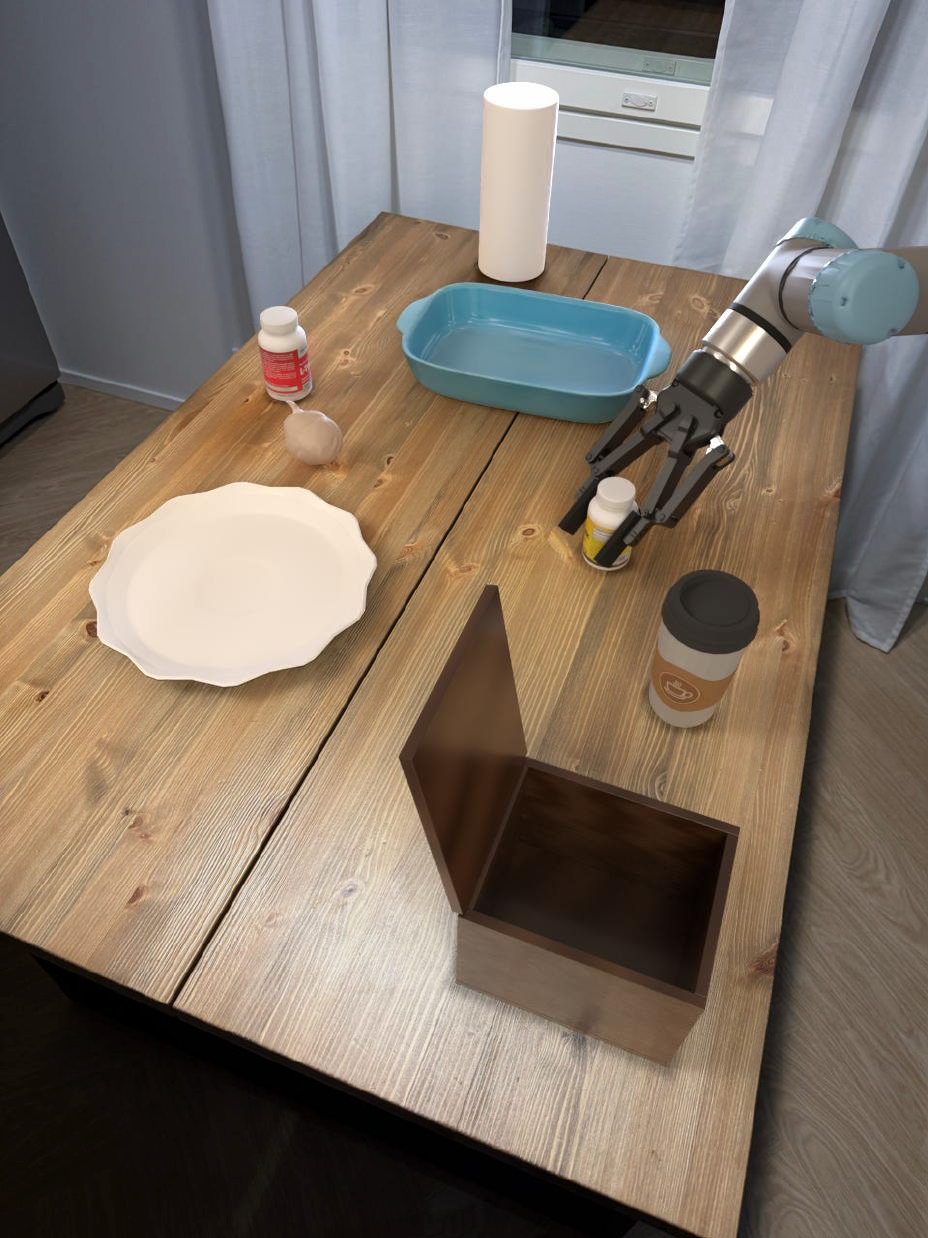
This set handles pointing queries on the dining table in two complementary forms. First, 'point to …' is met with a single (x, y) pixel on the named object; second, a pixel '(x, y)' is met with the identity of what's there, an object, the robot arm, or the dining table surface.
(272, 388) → the pill bottle
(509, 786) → the lid
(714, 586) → the coffee cup
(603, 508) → the supplement bottle
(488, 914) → the chest
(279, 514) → the plate
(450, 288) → the casserole dish
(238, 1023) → the dining table surface
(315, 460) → the garlic bulb
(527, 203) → the tall pillar cylinder
